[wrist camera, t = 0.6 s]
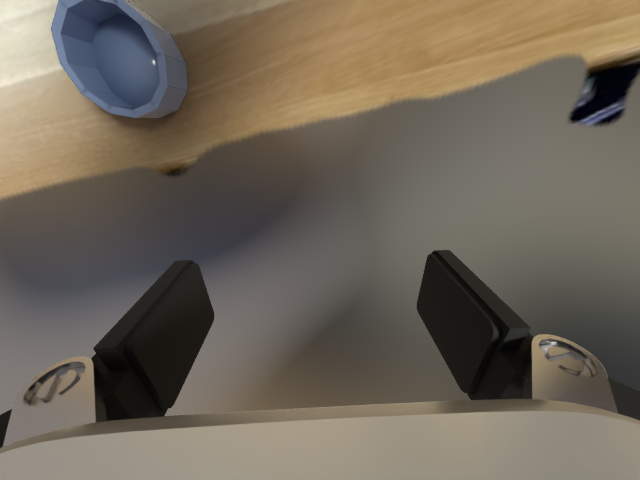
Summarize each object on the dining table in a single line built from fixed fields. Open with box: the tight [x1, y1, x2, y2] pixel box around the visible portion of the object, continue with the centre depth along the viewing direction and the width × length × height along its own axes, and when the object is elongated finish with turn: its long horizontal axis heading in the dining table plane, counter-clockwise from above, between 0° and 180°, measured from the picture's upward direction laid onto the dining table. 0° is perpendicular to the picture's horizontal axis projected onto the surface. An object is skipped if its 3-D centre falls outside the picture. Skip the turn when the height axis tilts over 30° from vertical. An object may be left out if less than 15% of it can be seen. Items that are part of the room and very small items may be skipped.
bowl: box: [51, 0, 188, 118], centre depth 27 cm, size 11×11×5 cm
